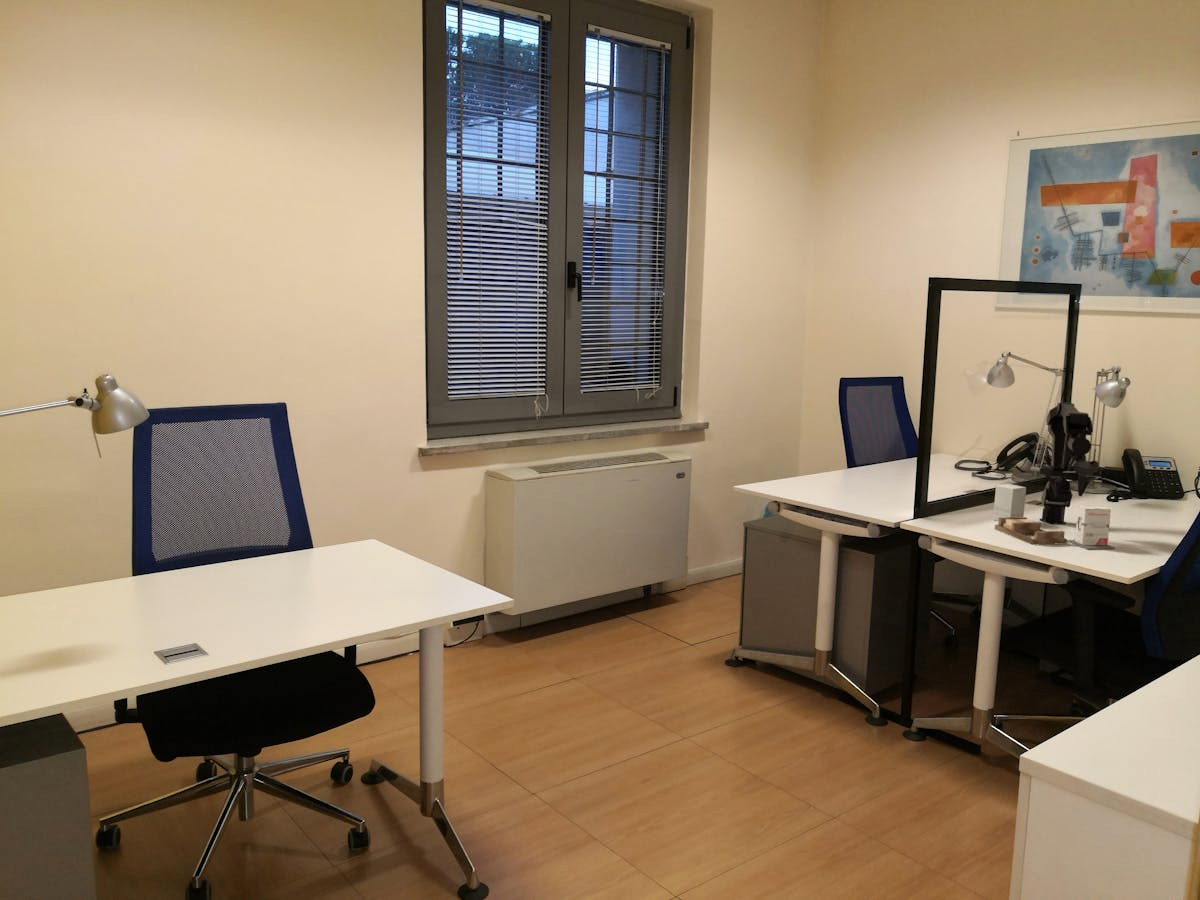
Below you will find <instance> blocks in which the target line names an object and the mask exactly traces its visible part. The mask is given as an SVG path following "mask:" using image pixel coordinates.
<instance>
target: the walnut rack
mask: <svg viewBox="0 0 1200 900" xmlns="http://www.w3.org/2000/svg"><path fill="white" fill-rule="evenodd" d="M997 522H998V523H997V524H994V530H995V531H999V532H1000V533H1003V532H1004V533H1003V534H1006V535H1007V536H1010V535H1011V537H1014V538H1015V539H1018V540H1020V541H1023V542H1026V543H1028V544H1030V545H1032V544H1039V545H1056V544H1055V543H1058V544H1057V545H1060V544H1059V543H1068V542H1067V540H1068V539H1067V538H1066V537H1065V531H1063V530H1049V531H1048V530H1044V529H1042V528H1041V527H1042V523H1041V521H1032V520H1030V519H1028V517H1025V516H1023V517H1000V518H999V521H997ZM1030 536H1034V537H1030Z"/></svg>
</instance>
